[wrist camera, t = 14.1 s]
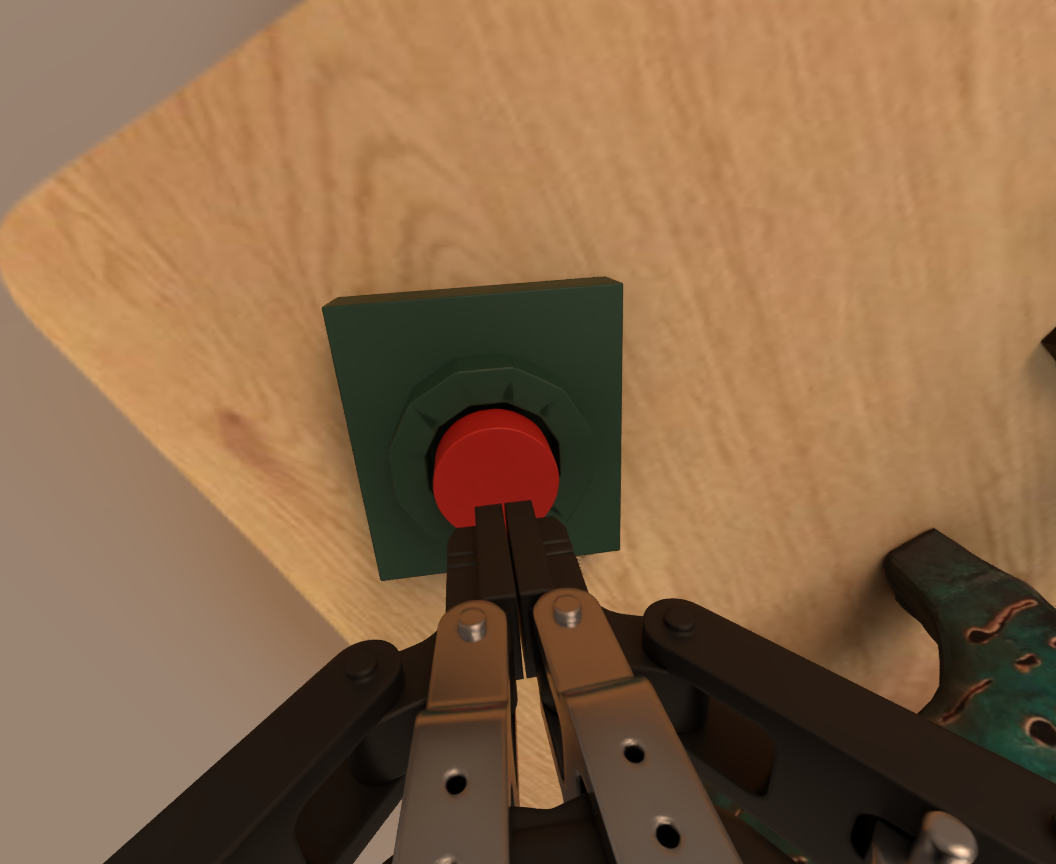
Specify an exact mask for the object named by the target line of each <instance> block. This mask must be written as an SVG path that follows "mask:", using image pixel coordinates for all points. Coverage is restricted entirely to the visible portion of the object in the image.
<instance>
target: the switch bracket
mask: <svg viewBox="0 0 1056 864" xmlns="http://www.w3.org/2000/svg"><path fill="white" fill-rule="evenodd" d="M1042 342H1043V344H1044V345H1045V346H1046V348H1047V349H1048V350H1049V351H1050V353H1051V354H1052V355H1053V356H1054V358H1055V359H1056V329H1055V330H1054V331H1052V332H1051V333H1050V334H1049V335H1048V336H1047V337H1046V338H1045V339H1044V340H1043V341H1042Z"/></svg>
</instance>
